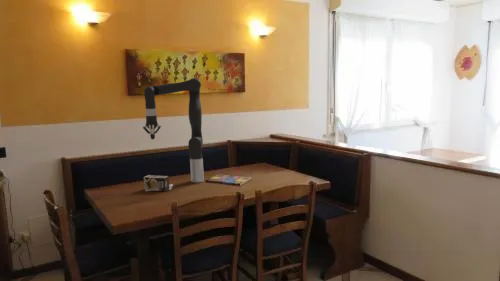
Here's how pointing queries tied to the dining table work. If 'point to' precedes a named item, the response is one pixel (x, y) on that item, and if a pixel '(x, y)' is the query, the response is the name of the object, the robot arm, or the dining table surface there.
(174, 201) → the dining table surface
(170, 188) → the mat
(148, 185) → the coffee box
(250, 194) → the dining table surface
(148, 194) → the dining table surface
